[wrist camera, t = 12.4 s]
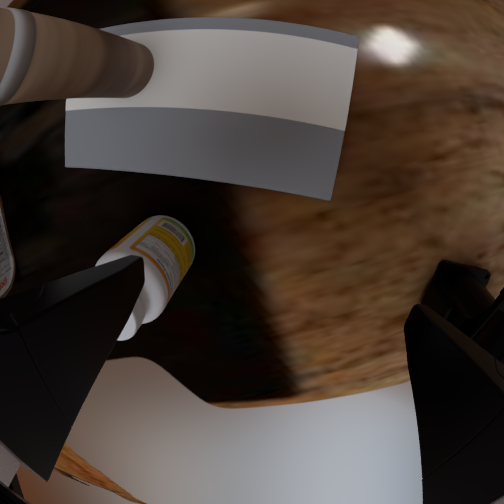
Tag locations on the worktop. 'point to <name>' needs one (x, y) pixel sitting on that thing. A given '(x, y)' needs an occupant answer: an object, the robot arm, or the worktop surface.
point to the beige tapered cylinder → (66, 60)
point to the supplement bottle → (155, 265)
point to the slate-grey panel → (225, 106)
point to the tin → (5, 256)
